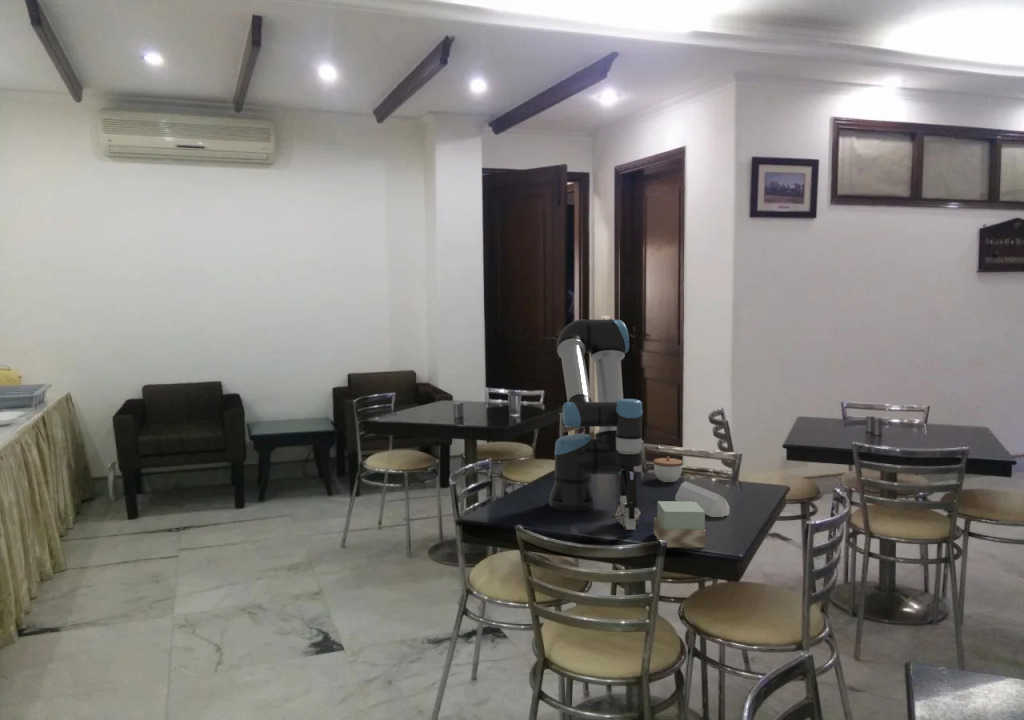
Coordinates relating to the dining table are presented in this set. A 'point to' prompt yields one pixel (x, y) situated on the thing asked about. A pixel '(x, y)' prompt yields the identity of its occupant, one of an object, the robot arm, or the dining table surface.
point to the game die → (624, 514)
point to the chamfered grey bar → (703, 499)
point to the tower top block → (680, 515)
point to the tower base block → (680, 536)
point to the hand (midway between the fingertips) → (627, 522)
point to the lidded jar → (667, 469)
